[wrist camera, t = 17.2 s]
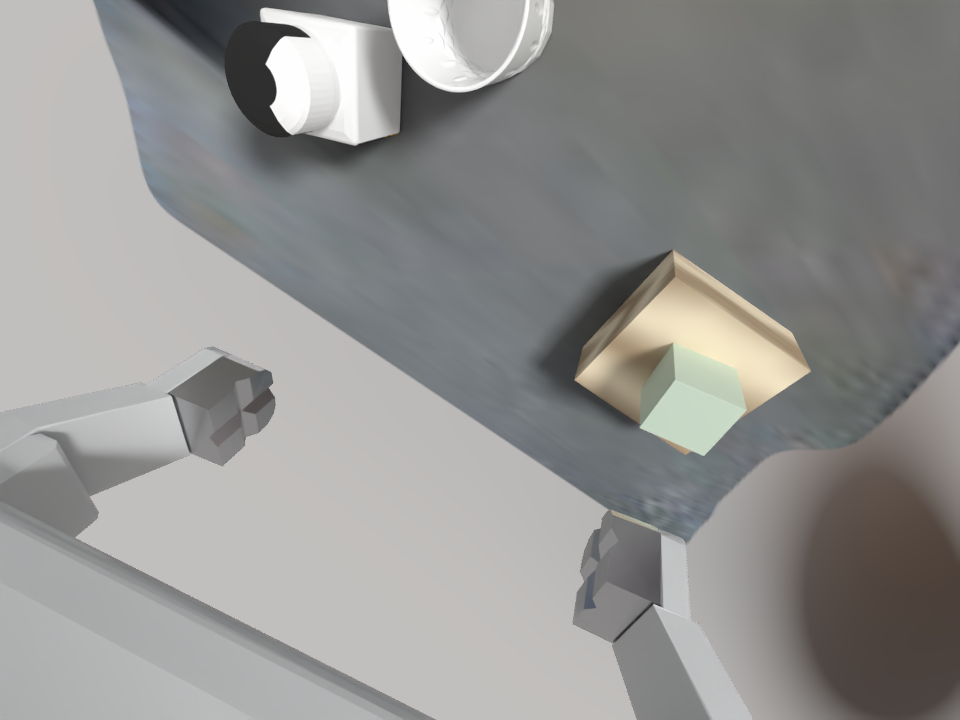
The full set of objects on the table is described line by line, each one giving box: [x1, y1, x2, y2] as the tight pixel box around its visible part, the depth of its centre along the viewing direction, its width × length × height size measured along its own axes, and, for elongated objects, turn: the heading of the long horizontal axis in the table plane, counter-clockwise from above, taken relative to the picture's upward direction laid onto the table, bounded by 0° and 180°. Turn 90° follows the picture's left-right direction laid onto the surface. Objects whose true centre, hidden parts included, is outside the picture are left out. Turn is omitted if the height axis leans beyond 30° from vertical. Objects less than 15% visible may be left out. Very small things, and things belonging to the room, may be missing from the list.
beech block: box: [575, 250, 810, 455], centre depth 37 cm, size 12×12×6 cm
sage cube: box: [640, 343, 747, 456], centre depth 33 cm, size 5×5×5 cm
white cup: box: [388, 0, 554, 92], centre depth 27 cm, size 8×8×10 cm
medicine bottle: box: [225, 8, 402, 146], centre depth 31 cm, size 7×7×12 cm
